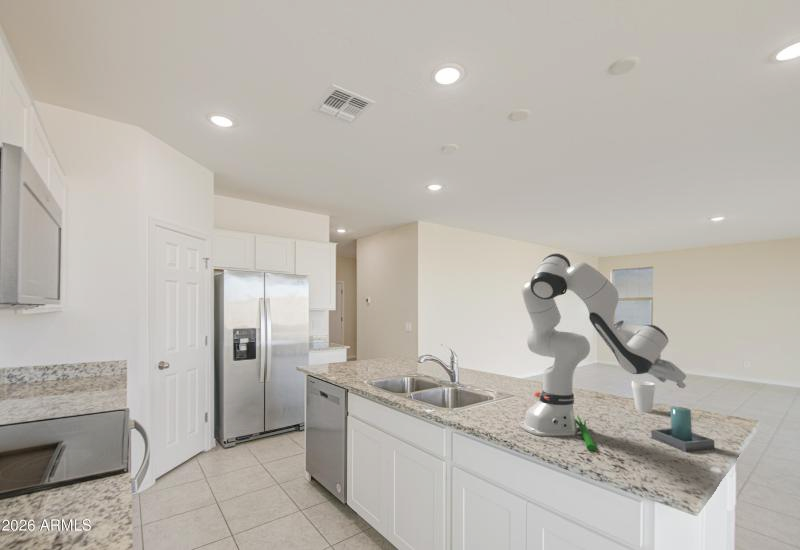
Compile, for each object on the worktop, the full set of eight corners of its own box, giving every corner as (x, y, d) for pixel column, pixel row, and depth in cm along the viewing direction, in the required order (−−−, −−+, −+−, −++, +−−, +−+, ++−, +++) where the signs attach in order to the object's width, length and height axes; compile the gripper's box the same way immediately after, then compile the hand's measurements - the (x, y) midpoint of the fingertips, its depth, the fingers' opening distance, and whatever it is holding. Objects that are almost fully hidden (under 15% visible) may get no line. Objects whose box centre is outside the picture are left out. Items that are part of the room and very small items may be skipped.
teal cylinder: (683, 443, 130) (681, 412, 131) (667, 437, 136) (666, 407, 137) (696, 442, 131) (695, 410, 132) (680, 436, 137) (678, 406, 138)
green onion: (598, 454, 125) (583, 422, 153) (597, 445, 125) (583, 414, 153) (582, 452, 126) (571, 420, 155) (582, 443, 127) (571, 413, 155)
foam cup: (659, 414, 167) (658, 385, 168) (637, 412, 169) (636, 384, 170) (650, 408, 177) (649, 381, 178) (629, 406, 179) (628, 380, 179)
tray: (685, 451, 126) (685, 443, 126) (651, 437, 138) (651, 429, 138) (714, 448, 129) (714, 440, 129) (678, 435, 141) (678, 427, 142)
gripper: (672, 355, 126) (702, 384, 125) (634, 347, 146) (659, 372, 145) (660, 368, 125) (689, 397, 125) (623, 358, 146) (648, 383, 145)
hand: (673, 383), depth 135 cm, fingers open, 8 cm apart
